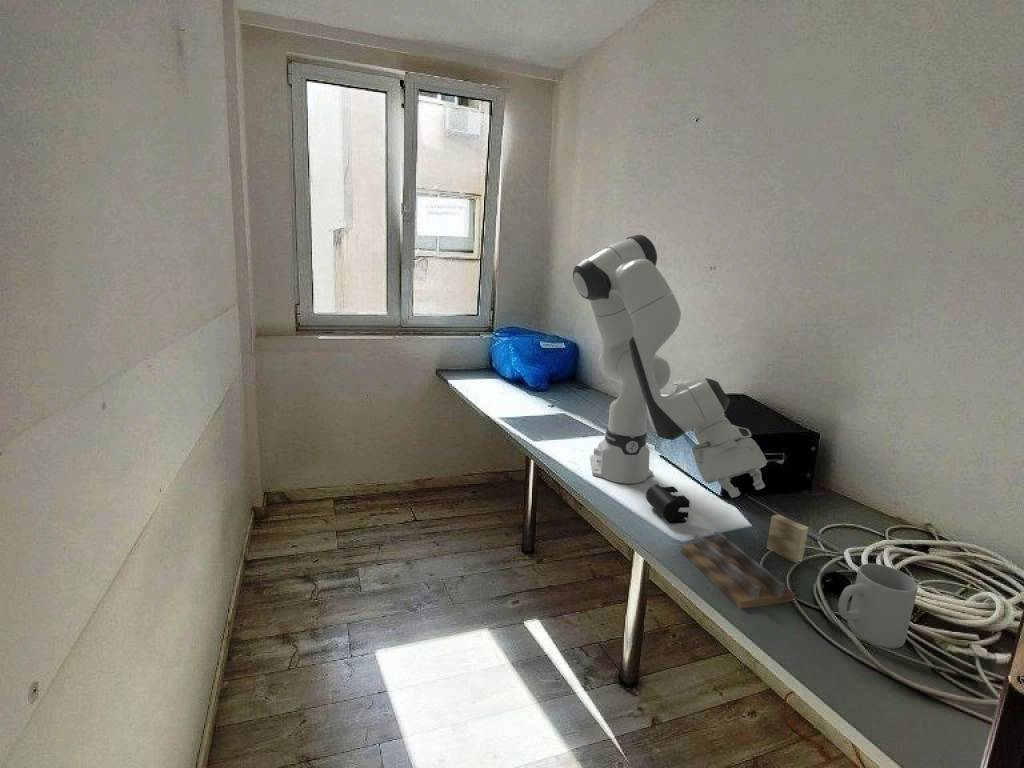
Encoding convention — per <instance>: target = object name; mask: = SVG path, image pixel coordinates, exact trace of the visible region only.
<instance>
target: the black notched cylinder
mask: <svg viewBox="0 0 1024 768" xmlns="http://www.w3.org/2000/svg"><path fill="white" fill-rule="evenodd" d="M678 492H679V490H678V489H677V488H676V487H675V486H661V485H660V483H654V484H652V485H651V486H650V487H649V488H648V489H647V490H646V494H645V498H646V501H647V503H648V504H649V505H650V506H651V507H652V508H653V509H654V510H655V511H656V512H657V513H658V514H659V515H660V516H661V517H662V518H663V519H664V520H665V521H666V522H667V523H668V524H671V525H677V524H678V525H679V524H687V523H688V522H687V519H688V518H689V513H690V512H689V511H682V510H681V511H679V510H680V509H688V508H689V509H690V504H691V503H690V500H689V498H687V497H686V496H685V495H675V494H672V493H678Z"/></svg>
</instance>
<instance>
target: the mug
mask: <svg viewBox="0 0 1024 768" xmlns="http://www.w3.org/2000/svg"><path fill="white" fill-rule="evenodd" d="M918 589H919V587H918V584H917V582H916V581H915V579H913V577H911V576H909V575H908V574H906V573H905V572H902V571H901V570H898V569H896V568H893V567H890V566H887V565H883V564H878V563H864V564H861V565H860V566H859V567H858V570H857V575H856V578H855V583H854V584H849V585H847V586H846V587H844V588H843V590H842V592H841V594H840V597H839V600H838V613H839V615H840V617H841V618H842V619H843V620H845V621H847V625H848V628H850V631H852V632H853V633H854V634H855V635H856V636H858V637H859V638H861V639H862V640H864V641H866V642H868V643H870V644H872V643H873V645H874V644H875V646H877V645H878V647H881V648H885V649H898V648H901V647H903V646H905V645H904V644H906V640H907V637H908V631H909V626H910V622H911V618H912V614H913V610H914V606H915V602H916V598H917V593H918ZM850 598H851V602H850V607H849V610H847V609H848V603H849V601H850Z"/></svg>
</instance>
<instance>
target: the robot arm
mask: <svg viewBox="0 0 1024 768" xmlns="http://www.w3.org/2000/svg"><path fill="white" fill-rule="evenodd" d="M657 261H658V252H657V250H656V246H655V245H654V243H653V242H652V240H650V238H648V237H647V236H646V235H644V234H635V235H631V236H628V237H627V238H625V239H623V240H620V241H616V242H615V243H611V244H610V245H607V246H605V247H604V248H602V249H601V250H599V251H598V252H595V253H594V254H592V255H591V256H589V257H588V258H584V259H582V260H581V261H580V262H578V263H577V264H576V265H575V266H574V267H573V269H572V270H573V271H572V272H573V273H572V280H573V283H574V286H575V289H576V291H577V292H578V293H579V295H580V296H581V297H582V298H583V299H585V300H588V301H590V305H591V308H592V312H593V316H594V318H595V321H596V325H597V327H598V331H599V334H600V337H601V344H602V350H601V352H600V354H599V356H598V359H597V361H598V362H597V363H598V364H597V365H598V368H599V371H600V372H601V373H602V374H603V375H604V376H606V377H607V378H608V379H609V380H611V381H614V382H617V383H619V384H621V385H622V386H621V390H620V393H619V395H618V397H617V398H616V399H613V401H612V402H611V403H610V405H609V413H608V414H609V415H608V423H607V424H608V425H607V428H606V431H605V436H604V439H603V440H602V441H600V442H599V443H598V445H597V448H596V447H594V448H593V454H592V455H590V456H589V461H590V462H589V463H590V466H591V467H590V468H591V469H590V470H591V473H592V475H593V476H595V477H598V478H602V479H605V480H608V481H611V482H614V483H619V484H627V485H628V484H630V485H631V484H641V483H643V482H645V481H646V480H647V479H648V478H649V477H652V476H654V472H653V470H652V469H650V452H651V451H650V449H649V447H647V446H646V445H647V440H648V436H647V435H648V432H647V423H649V424H650V427H651V429H652V431H653V432H654V433H655V434H656V436H657V437H659V438H661V439H665V440H669V441H674V440H676V439H677V438H679V437H682V436H683V435H685V434H686V433H687V432H689V431H693V434H694V437H695V439H696V440H697V442H698V444H695V445H694V446H693V449H692V455H693V456H694V461H695V463H696V467H697V469H698V471H699V474H700V475H701V478H702V480H703V481H704V482H706V483H707V484H714V483H716V482H718V484H719V486H720V487H721V488H722V489H723V490H725V491H726V492H727V493H728V495H729V496H730V498H731V499H732V498H736V497H738V496H740V495H741V492H740V491H739V488H738V487H735V486H734V485H733V484H732V483H731V480H730V478H731V479H732V478H734V477H737V476H738V477H739V476H741V475H744V474H749V475H750V477H752V479H753V483H752V485H753V487H754V489H755V490H756V491H757V490H758V491H759V490H761V489H763V488H765V487H766V484H765V483H764V481H763V477H762V471H761V468H762V469H763V467H765V466H767V458H766V457H765V455H764V453H763V451H762V449H761V447H760V446H759V445H758V444H757V442H756V440H754V439H753V438H751V437H752V432H751V431H750V430H749V428H747V427H746V428H745V427H741V426H737V425H734V424H732V423H731V422H730V420H729V419H728V418H727V417H726V416H725V415H724V413H726V411H727V409H728V406H729V404H730V399H729V398H728V396H727V393H725V391H724V390H723V388H722V387H721V385H720V382H719V381H718V380H715V379H712V378H707V377H705V378H701V379H700V378H699V377H693V378H689V379H686V380H684V381H682V382H681V383H680V384H678V385H677V387H676V388H675V390H674V392H673V393H670V394H668V395H664V396H663V395H662V394H661V392H660V391H661V390H662V389H664V388H665V387H666V386H667V384H668V382H669V380H670V377H671V367H670V364H669V363H668V361H667V360H665V359H664V358H662V357H661V356H660V355H657V354H656V353H658V351H659V350H660V348H661V347H662V346H663V345H664V344H665V343H666V342H667V341H668V340H669V339H670V337H672V336H673V334H674V333H675V332H676V330H677V328H678V326H679V325H680V320H681V314H682V313H681V309H680V307H679V303H678V301H677V299H676V296H675V295H674V293H673V290H672V289H671V287H670V286H669V283H668V282H667V280H666V279H665V278H664V276H663V275H662V273H661V272H660V271H659V269H658V268H657V267H656V265H657Z"/></svg>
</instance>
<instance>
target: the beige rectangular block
mask: <svg viewBox="0 0 1024 768" xmlns="http://www.w3.org/2000/svg"><path fill="white" fill-rule="evenodd" d="M770 519H771V520H770V523H769V530H768V535H767V536H768V537H767V542H766V549H767V550H769V551H771V550H773V551H775V552H776V553H775V552H774V553H775V554H777V555H779V556H781V557H783V558H785V559H787V560H789V561H791V562H793V563H795V562H797V561H798V560H800V559H802V558H803V559H804V555H805V549H806V544H807V538H808V533H809V527H808V526H806V525H804V524H803V523H802V524H801V523H800V522H797V521H795V520H792V519H790V518H789V517H788V518H787V517H785V516H783V515H780V514H778V513H777V514H774V515H771V518H770ZM773 551H772V552H773Z"/></svg>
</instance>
